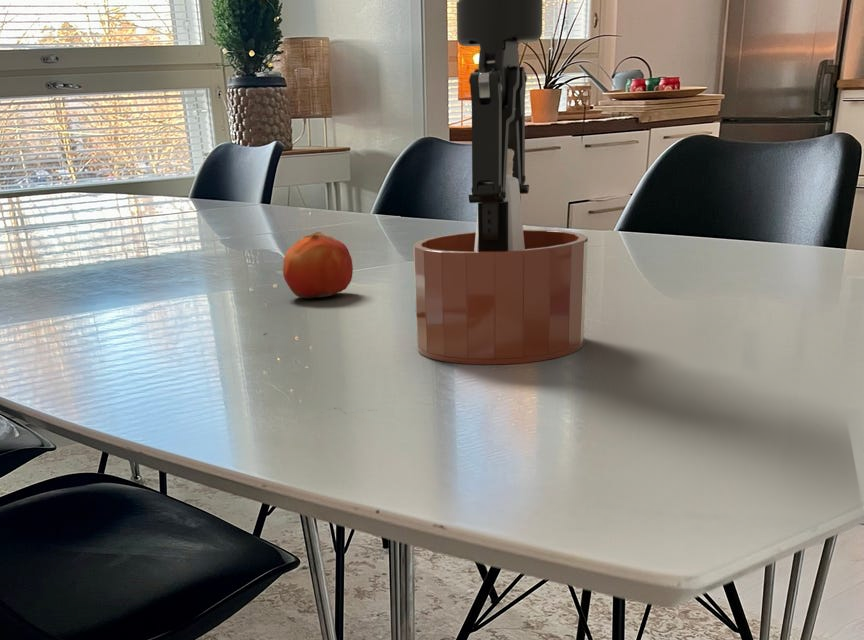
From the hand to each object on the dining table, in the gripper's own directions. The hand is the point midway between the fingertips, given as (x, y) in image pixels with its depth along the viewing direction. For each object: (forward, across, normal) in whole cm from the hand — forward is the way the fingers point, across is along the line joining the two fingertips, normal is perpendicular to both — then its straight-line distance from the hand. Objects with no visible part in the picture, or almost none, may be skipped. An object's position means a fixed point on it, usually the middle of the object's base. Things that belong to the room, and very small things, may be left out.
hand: (500, 270), depth 100 cm
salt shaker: (+1, 0, 0) cm, 1 cm away
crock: (+7, 0, 0) cm, 7 cm away
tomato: (+7, -28, -30) cm, 42 cm away
